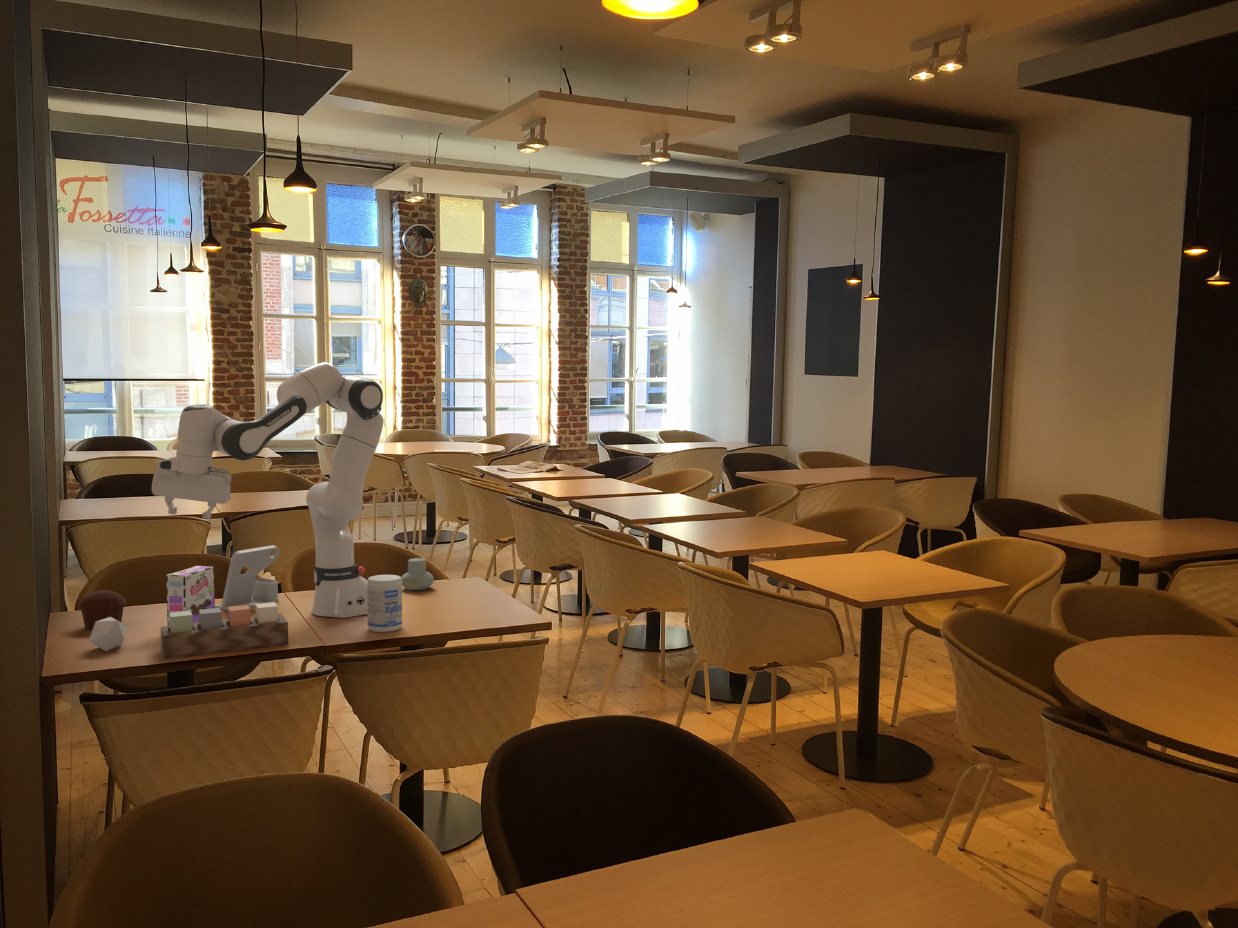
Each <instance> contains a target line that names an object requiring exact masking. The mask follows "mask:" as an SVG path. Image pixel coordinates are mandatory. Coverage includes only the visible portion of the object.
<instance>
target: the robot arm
mask: <svg viewBox="0 0 1238 928" xmlns="http://www.w3.org/2000/svg"><path fill="white" fill-rule="evenodd" d="M276 399H277V402H278V404H276V406H274V407H273V408H272V409H270V410H269V411H267V412H266V413H264V414H262V416H260V417H258V418H257V419H255V420H251V421H240V420H238V419H234V418H232V417H229V416H228V415H225V414H223V413H221V412H219V411H218V410H217V409H215V408H214V406H213V405H210V404H204V403H203V404H191V405H188V406H186V407H184V408H183V409H182V411H181V414H180V416H179V420H178V421H179V422H178V428H177V429H178V430H177V439H178V445H177V446H178V447H177V449H176V454H175V456H174V457H170V458H165V459H161V460H158V461H157V462H156V465H155V466H156V467H155V468H156V469H157V470H156V471H154V474H153V478H152V483H151V492H152V494H153V496H156V497H164V502H165V504H166V506H167V508H168V515H176V514H177V512H178V507H177V506H175V505H174V503H173V501H174V500H175V499H180V500H186V501H187V500H189V501H195V502H204V503H207V506H208V508H207V510H205V511H203V512H202V519H206V520H210V519H211V518H212V512H213V511H214V510H215V508H216V507H217V504H219V505H224V504H227V503H229V502H230V500H231V497H232V496H231V494H232V493H231V492H232V491H231V482H232V474H231V472H229V470H227V469H225V468H218V467H212V466H213V453H214V452H220V453H222V454H224V455H228V456H230V457H232V458H234V459H236V460H238V461H248V460H252V459H254V458H256V457H257V456H259V454H260V453H261V452H262V451H263V449H264V448H265V447H266V446H267V444H268V443H269V442H270V441H271V440H272V439H274V438H275V437H276V436H278V435H279V434H280V433H282V432H283V431H285V430H286V429H287V428H289V427H290V426H292V425H293V424H294V423H295V422H297V421H298V420H300V419H301V418H302V417H303V416H305V415H306V414H307V413H309V412H311V411H312V410H314V409H316V408H318V407H319V406H320V405H322V404H323V403H326V404H327V405H328V406H330V408H332V409H335V410H338V411H342V412H345V413H346V423H345V426H344V427H343V428H344V429H343V430H342V432H341V435H340V437H339V440H338V442H337V445H336V446H335V449H334V451H333V453H332V456H331V461H330V462H331V467H330V468H331V470H330V475H329V480H328V481H322V482H318V483H315V484H313V485H312V486H311V487H310V488H309V489H308V490H307V493H306V497H305V502H306V504H307V507H308V509H309V514H310V520H311V525H312V529H313V535H314V542H315V566H314V571H313V572H314V573H313V575H314V585H315V590H314V597H313V598H314V599H313V605H312V608H311V611H310V612H311V614H312V615H314V616H319V617H327V618H328V617H332V618H339V619H345V618H351V617H357V616H363V615H368V596H367V585H368V584H367V583H368V579H366V578H364V577H363V576H361V575H363V574H364V573H365V572H366V569H365V567H364V566H360V565H358V564H356V563H355V548H354V547H355V545H354V544H355V543H354V541H355V540H354V537H353V535H352V532H351V529H350V525H349V522H352V521H354V520H356V519H357V518H358V517H359V516H360V515H361V513H362V511H363V509H364V508H363V507H364V502H363V494H364V493H363V492H364V487H365V482H366V478H367V477H366V476H367V473H368V470H369V467H370V464H371V462H372V460H373V458H374V455H375V452H376V450H377V447H378V444H379V441H380V439H381V436H382V431H383V428H384V427H383V426H384V416H383V415H382V414H381V413H380V412H381V411H382V405H383V401H384V400H383V399H384V393H383V389H382V387H381V385H380V384H379V383H377V382H376V381H375V380H373V379H371V378H368V377H362V376H358V375H346V374H345V375H344V374H341V371H339V369H338V368H337V367H336V366H335V365H334V364H332V363H330V362H320V363H317V364H314V365H311V366H308V367H306V368H304V369H302V370H300V371H298V372H296V373H295V374H293V375H291V376H289V377H288V378H286V379H285V380H284V381H283V382H281V384H279V386H277V390H276Z"/></svg>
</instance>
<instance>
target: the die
mask: <svg viewBox="0 0 1238 928" xmlns="http://www.w3.org/2000/svg"><path fill="white" fill-rule="evenodd" d="M127 631H128V626H126V625H125V624H124V623H122V621H121V622H119V621H118V620H116V619H114V618H111V617H108V618H105V619H102V620H99V621H96V622H95V625H94V627H93V630H91V633H90V636H89V639H88V642H89V643H92V644H93V645H94V646H96V647H97V648H100V649H101V650H103V651H105V652H109V651H112V650H115V649H117V648H120V647H121V646H122V645H123V643H124V639H125V638H126V634H127Z"/></svg>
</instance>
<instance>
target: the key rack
mask: <svg viewBox="0 0 1238 928" xmlns="http://www.w3.org/2000/svg"><path fill="white" fill-rule="evenodd" d="M250 618H251V624H249V625H240V626H231V627H229V626H228V618H227V619H222V628H213V629H203V630H200V629H199V623H193V631H185V632H176V633H170V626H168V625H163V626H162V625H161V626H160V638H161V639H160V641H161V643H160V645H161V646H160V647H161V652H162V656H163V659H164V660H169V659H177V658H178V659H179V658H185V657H186V658H187V657H194V656H202V655H208V654H209V655H210V654H217V653H226V652H227V653H229V652H234V651H235V652H236V651H242V650H243V651H244V650H251V649H260V648H268V647H277V646H285V645H289V622H288V620H287V619H286V618H285V616H284V615H283V614H282V613H278V621H276V622H267V623H258V624H257V623H256V615H255V616H250Z"/></svg>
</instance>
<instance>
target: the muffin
mask: <svg viewBox="0 0 1238 928" xmlns="http://www.w3.org/2000/svg"><path fill="white" fill-rule="evenodd" d="M126 602H127V600H125V598H124V597H123V596H122V595H121V594H120V593H117V592H115V591H113V590H108V589H107V590H105V589H104V590H95V591H94V592H91V593H89V594H87V595H86V596H84V597H83V598H82V600H81V602H80V604H79V605H78V608H80V610H81V615H82V620H83V624H84V628H85V629H86V630H88V631H92V630H93V627H94V625H95V622H96V621H99V620H102V619H105V618H108V617H111V618H114V619H116V620H118V621H119V622H121V623H122V620H123V613H124V605H125V604H126Z"/></svg>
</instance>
